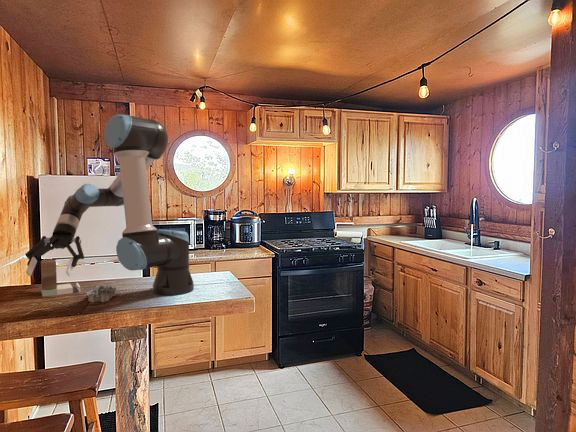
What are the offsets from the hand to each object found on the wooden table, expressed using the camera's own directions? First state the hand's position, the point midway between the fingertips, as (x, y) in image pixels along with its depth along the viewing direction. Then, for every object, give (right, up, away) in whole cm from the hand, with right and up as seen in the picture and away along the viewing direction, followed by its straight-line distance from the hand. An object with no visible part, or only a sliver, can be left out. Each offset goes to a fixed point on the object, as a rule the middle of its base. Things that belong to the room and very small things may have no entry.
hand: (48, 274), depth 144 cm
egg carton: (+21, -8, -4) cm, 23 cm away
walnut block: (0, -5, 0) cm, 5 cm away
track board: (+3, -7, +3) cm, 8 cm away
